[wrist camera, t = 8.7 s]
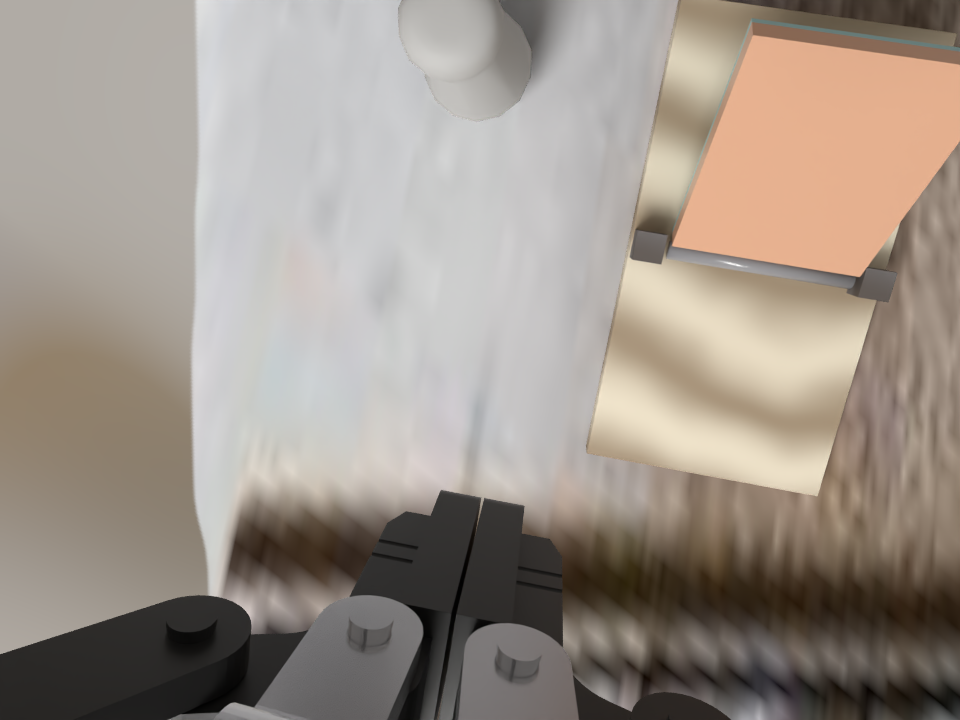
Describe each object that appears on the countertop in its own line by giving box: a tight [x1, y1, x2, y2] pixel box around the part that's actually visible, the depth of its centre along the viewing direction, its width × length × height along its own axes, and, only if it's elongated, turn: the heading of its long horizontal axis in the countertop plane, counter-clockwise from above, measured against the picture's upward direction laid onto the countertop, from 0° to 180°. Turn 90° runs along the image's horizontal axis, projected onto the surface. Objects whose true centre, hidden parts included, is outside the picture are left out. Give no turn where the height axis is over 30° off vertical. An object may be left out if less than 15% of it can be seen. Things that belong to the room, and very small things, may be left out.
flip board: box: [586, 0, 957, 496], centre depth 39 cm, size 26×14×3 cm, turn 171°
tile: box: [666, 18, 960, 289], centre depth 33 cm, size 13×10×1 cm
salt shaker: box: [398, 0, 532, 122], centre depth 33 cm, size 6×6×13 cm
